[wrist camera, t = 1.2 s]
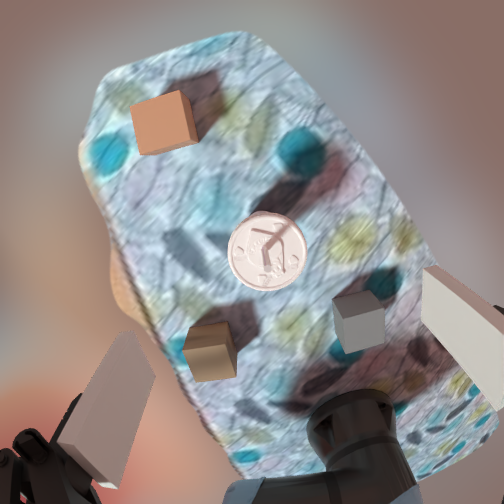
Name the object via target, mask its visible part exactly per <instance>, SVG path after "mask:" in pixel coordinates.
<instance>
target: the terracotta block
mask: <svg viewBox="0 0 504 504" xmlns="http://www.w3.org/2000/svg"><path fill="white" fill-rule="evenodd" d="M130 111H131V116H132V121H133V126H134V130H135V135H136V140H137V144H138V149H139V153H140V155H158V154H161V153H164V152H168V151H171V150H175V149H178V148H181V147H185V146H189V145H192V144H196V143H199V140H198V136H197V131H196V127H195V123H194V118H193V114H192V109H191V105H190V100H189V99H188V98H187V97H186V96H185V95H184V94H183V93H182V92H181V91H180V90H177V91H174V92H171V93H167V94H164V95H161V96H158V97H155V98H152V99H149V100H146V101H144V102H141V103H138V104H135V105H133V106H130Z"/></svg>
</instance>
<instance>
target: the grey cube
mask: <svg viewBox="0 0 504 504" xmlns="http://www.w3.org/2000/svg"><path fill="white" fill-rule="evenodd" d="M332 305H333V314H334V323H335V332H336V335H337V337H338V339H339V341H340V343H341V345H342V347H343V350H344V352H345V354H348V353H352V352H355V351H359V350H362V349H366V348H369V347H373V346H376V345H379V344H383V343H385V307H384V306H383V305H382V304H381V303H380V302H379V300H378V299H377V298H376V297H375V296H374V294H373V293H372V292H371V291H370V290H366V291H362V292H358V293H354V294H350V295H346V296H342V297H338V298H334V299H332Z"/></svg>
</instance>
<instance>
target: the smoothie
mask: <svg viewBox="0 0 504 504" xmlns="http://www.w3.org/2000/svg"><path fill="white" fill-rule="evenodd" d="M306 260H307V244H306V241H305V238H304V236H303V234H302V231H301V230H300V228H299V227H298V226H297V225H296V224H295V223H294V222H293V221H292V220H290V219H289V218H287V217H286V216H283V215H280V214H277V213H270V212H268V211H257V212H254V213H253V214H251V215H250V216H249V217H248V218H246V219H245V220H243V221H242V222H241V223H240V224H239V225H238V226H237V227H236V228H235V230H234V231H233V233H232V234H231V237H230V240H229V243H228V261H229V265H230V267H231V270H232V272H233V273H234V275H235V276H236V277H237V278H238V279H239V280H240V281H241V282H242V283H243V284H245V285H246V286H248V287H250V288H253V289H256V290H260V291H273V290H278V289H281V288H283V287H286V286H287V285H289V284H291V283H292V282H293V281H294V280H295V279H297V277H298V276H299V275H300V274H301V272H302V270H303V269H304V266H305V264H306Z"/></svg>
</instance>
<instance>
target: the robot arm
mask: <svg viewBox="0 0 504 504" xmlns="http://www.w3.org/2000/svg"><path fill="white" fill-rule="evenodd" d="M421 321H422V322H423V323H424V324H425V326H426V327H427V328H428V329H429V330H430V331H431V332H432V333H433V335H434V336H435V337H436V338H437V339H438V340H439V341H440V343H441V344H442V345H443V346H444V347H445V348H446V349H447V351H448V352H449V353H450V354H451V355H452V356H453V358H454V359H455V360H456V361H457V362H458V364H459V365H460V366H461V367H462V368H463V370H464V371H465V372H466V373H467V375H468V376H469V377H470V378H471V379H472V381H473V382H474V383H475V384H476V386H477V387H478V388H479V390H480V391H481V392H482V393H483V395H484V396H485V397H486V399H487V400H488V401H489V402H490V404H491V405H492V406H493V408H494V409H495V410H496V412H497V411H498V410H500V409H501V408H503V407H504V308H501V307H499V306H497V305H494V306H491V305H490V304H489V303H488V302H486V301H485V300H483V299H482V298H481V297H480V296H478V295H477V294H476V293H475V292H473V291H472V290H471V289H469V288H468V287H466V286H465V285H464V284H462V283H461V282H460V281H458V280H457V279H456V278H454V277H453V276H451V275H450V274H449V273H447V272H446V271H444V270H443V269H441V268H440V267H439V266H437V265H434V266H431V267H427V268H424V269H423V290H422V310H421ZM155 377H156V376H155V373H154V372H153V370H152V368H151V366H150V364H149V362H148V360H147V358H146V356H145V354H144V352H143V349H142V348H141V345H140V343H139V341H138V339H137V337H136V334H135V332H134V330H133V331H126V332H120V333H119V334H118V336H117V338H116V339H115V341H114V342H113V344H112V345H111V347H110V349H109V351H108V352H107V354H106V355H105V357H104V359H103V360H102V362H101V363H100V365H99V367H98V368H97V370H96V372H95V374H94V375H93V377H92V379H91V380H90V382H89V384H88V385H87V387H86V389H85V391H84V392H83V393H80V394H79V395H78V396H77V397H76V398H75V399H74V400H73V401H72V402H71V404H70V406H69V408H68V410H67V412H66V413H65V415H64V416H63V419H62V420H61V422H60V424H59V426H58V427H57V429H56V431H55V433H54V435H53V436H52V438H51V440H50V442H49V443H48V442H47V441H46V440H45V439H44V437H43V436H42V435H41V434H40V433H39V432H38V431H37V430H36V429H33V428H29V429H25V430H23V431H22V432H20V433H19V434H18V435H17V436H16V437H15V439H14V441H13V446H12V447H13V449H14V450H15V451H16V452H17V453H18V454H19V455H20V456H21V457H18V456H17V455H16V454H15V453H14V452H13V451H12V450H10V449H8V448H4V449H1V450H0V504H25V503H23V502H22V501H21V500H20V494H21V495H22V496H24V497H25V498H26V504H102V503H101V501H100V499H99V497H98V495H97V493H96V490H95V489H94V488H93V486H92V485H91V482H92V479H94V480H95V481H96V482H97V483H98V484H99V485H101V486H102V487H108V488H114V489H119V486H120V483H121V480H122V476H123V473H124V470H125V466H126V463H127V460H128V457H129V454H130V451H131V447H132V444H133V441H134V438H135V435H136V432H137V429H138V426H139V423H140V420H141V417H142V414H143V411H144V408H145V406H146V403H147V399H148V397H149V394H150V391H151V388H152V386H153V383H154V380H155ZM307 435H308V440H309V443H310V445H311V447H312V448H313V449H314V451H315V452H316V454H317V455H318V456H319V458H320V459H321V461H322V462H323V463H324V465H325V467H326V472H320V473H313V474H306V475H297V476H288V477H277V478H266V477H262V478H260V479H248V480H238V481H236V482H234V483H232V484H231V485H230V486H229V487H228V489H227V491H226V493H225V496H224V499H223V503H222V504H423V499H422V496H421V493H420V490H419V484H417V482H416V480H415V478H414V476H413V473H412V471H411V469H410V467H409V464H408V462H407V460H406V458H405V455H404V453H403V451H402V449H401V447H400V445H399V442H398V440H397V435H396V415H395V409H394V406H393V404H392V402H391V400H390V398H389V397H388V396H387V395H386V394H385V393H383V392H380V391H377V390H358V391H353V392H349V393H346V394H343V395H340V396H338V397H336V398H334V399H332V400H330V401H328V402H327V403H325V404H324V405H322V406H321V407H320V408H319V409H318V410H316V411H315V412H314V414H313V415H312V416H311V417H310V419H309V421H308V423H307ZM502 504H504V497H503V500H502Z"/></svg>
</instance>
